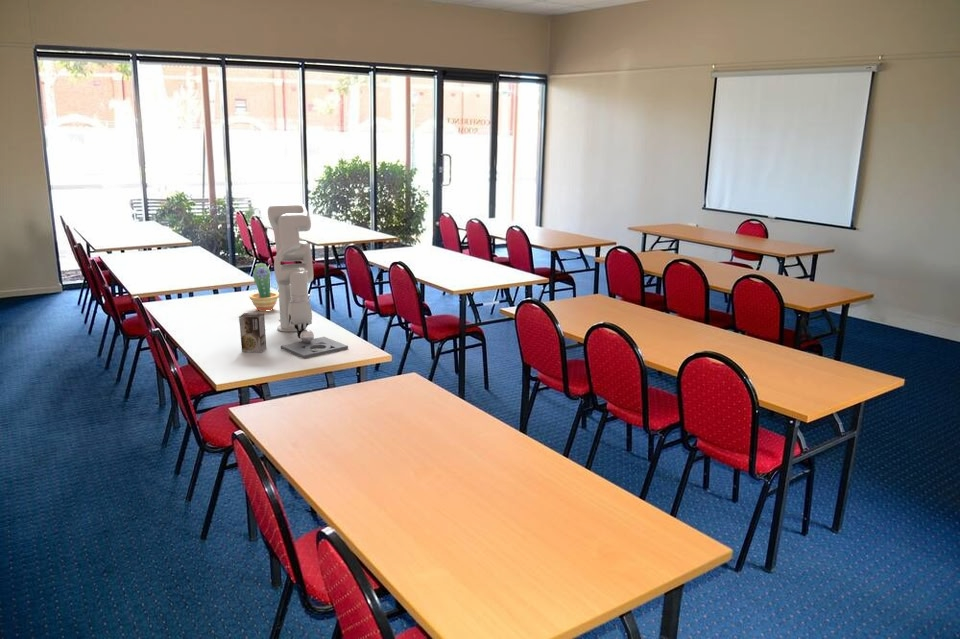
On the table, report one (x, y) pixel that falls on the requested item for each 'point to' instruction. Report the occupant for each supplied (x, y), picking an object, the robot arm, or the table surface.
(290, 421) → the table surface
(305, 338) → the metal ball
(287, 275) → the robot arm
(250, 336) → the coffee box
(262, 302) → the potted cactus
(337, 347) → the hole board
